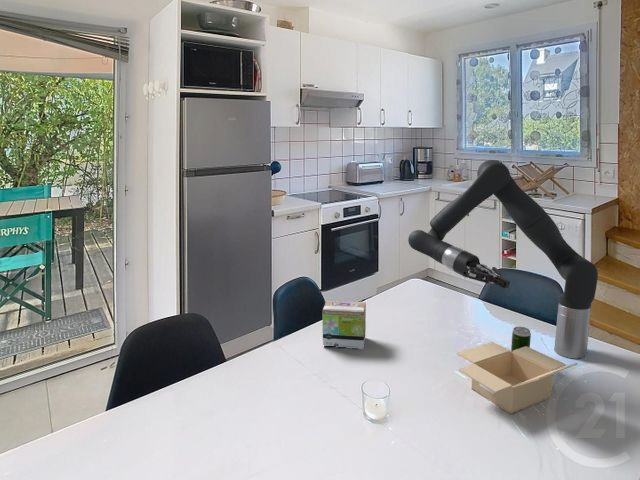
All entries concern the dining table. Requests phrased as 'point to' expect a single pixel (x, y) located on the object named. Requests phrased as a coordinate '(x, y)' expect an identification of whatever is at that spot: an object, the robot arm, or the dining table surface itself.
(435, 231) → the robot arm
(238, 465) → the dining table surface
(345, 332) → the tea box
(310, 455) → the dining table surface
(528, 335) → the beer can
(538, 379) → the flap
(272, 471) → the dining table surface
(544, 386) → the carton
